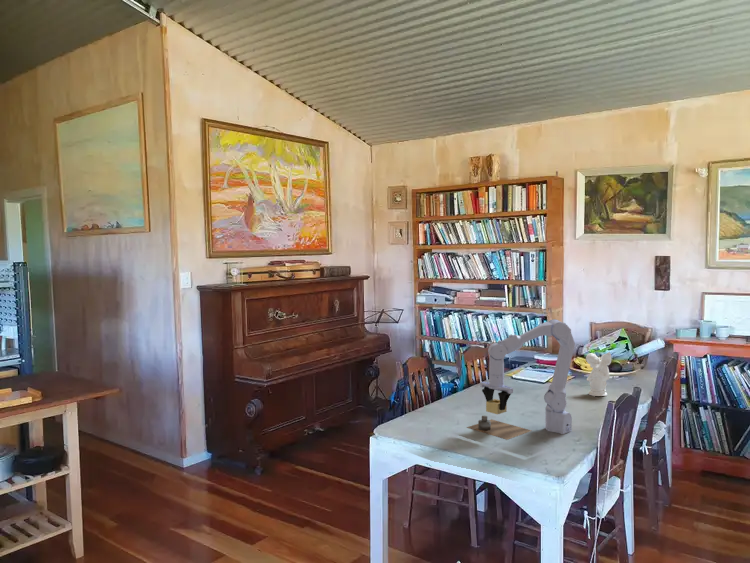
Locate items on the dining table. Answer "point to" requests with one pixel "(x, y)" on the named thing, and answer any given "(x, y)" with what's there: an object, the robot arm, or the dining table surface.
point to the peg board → (498, 428)
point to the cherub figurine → (598, 373)
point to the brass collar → (494, 407)
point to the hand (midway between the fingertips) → (496, 408)
